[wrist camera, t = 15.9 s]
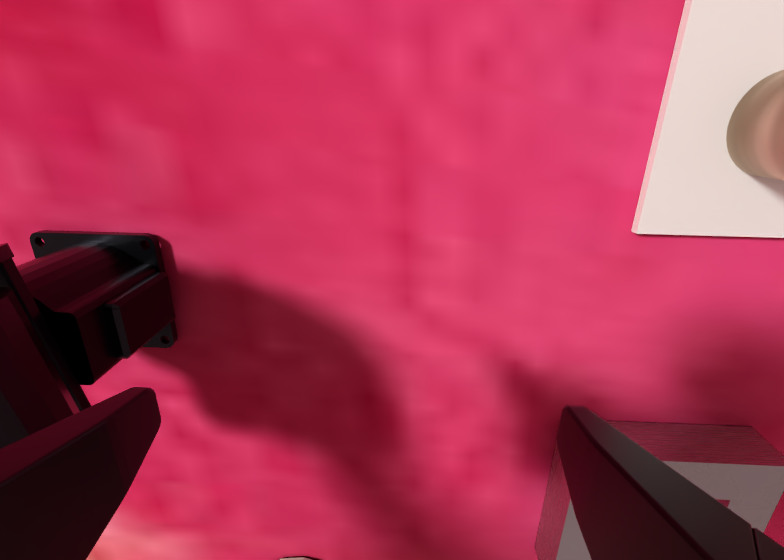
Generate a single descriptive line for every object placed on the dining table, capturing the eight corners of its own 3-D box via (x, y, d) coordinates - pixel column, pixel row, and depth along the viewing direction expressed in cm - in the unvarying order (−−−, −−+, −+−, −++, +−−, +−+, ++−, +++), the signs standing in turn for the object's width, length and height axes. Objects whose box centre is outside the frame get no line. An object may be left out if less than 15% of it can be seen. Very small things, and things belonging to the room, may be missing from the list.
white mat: (631, 230, 20) (636, 233, 20) (688, -11, 17) (695, -15, 16) (842, 236, 20) (852, 239, 20) (947, -9, 16) (962, -13, 16)
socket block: (534, 547, 29) (547, 593, 26) (561, 418, 25) (580, 457, 22) (697, 555, 28) (728, 603, 26) (751, 426, 24) (795, 466, 22)
